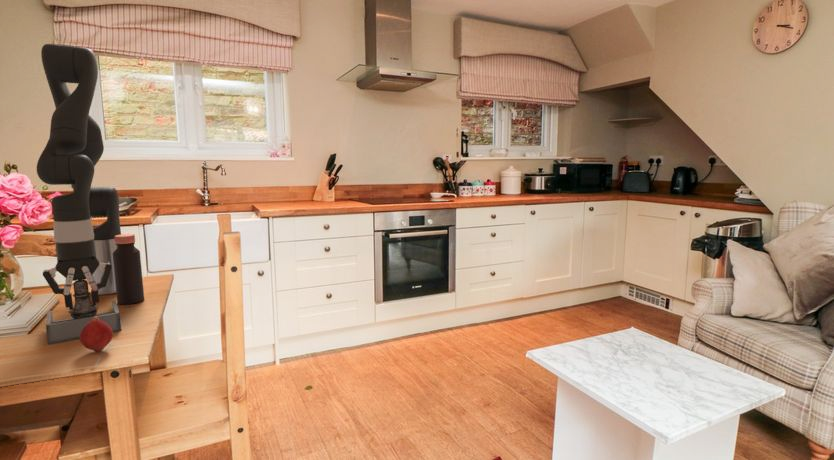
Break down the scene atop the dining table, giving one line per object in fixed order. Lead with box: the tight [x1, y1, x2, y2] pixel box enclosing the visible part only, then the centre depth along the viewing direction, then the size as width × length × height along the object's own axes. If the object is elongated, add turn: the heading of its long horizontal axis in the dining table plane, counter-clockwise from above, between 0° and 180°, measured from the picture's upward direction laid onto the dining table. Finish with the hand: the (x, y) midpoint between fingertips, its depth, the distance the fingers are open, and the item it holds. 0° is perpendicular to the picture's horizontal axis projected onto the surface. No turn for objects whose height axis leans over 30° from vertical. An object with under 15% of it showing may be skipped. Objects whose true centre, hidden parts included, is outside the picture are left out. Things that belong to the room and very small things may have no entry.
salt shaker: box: [68, 279, 99, 320], centre depth 110 cm, size 6×6×12 cm
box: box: [45, 300, 122, 345], centre depth 110 cm, size 12×14×4 cm
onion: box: [79, 317, 114, 353], centre depth 98 cm, size 6×6×8 cm
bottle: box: [113, 233, 145, 306], centre depth 131 cm, size 7×7×20 cm
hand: (82, 306), depth 110 cm, fingers closed on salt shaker, 4 cm apart
